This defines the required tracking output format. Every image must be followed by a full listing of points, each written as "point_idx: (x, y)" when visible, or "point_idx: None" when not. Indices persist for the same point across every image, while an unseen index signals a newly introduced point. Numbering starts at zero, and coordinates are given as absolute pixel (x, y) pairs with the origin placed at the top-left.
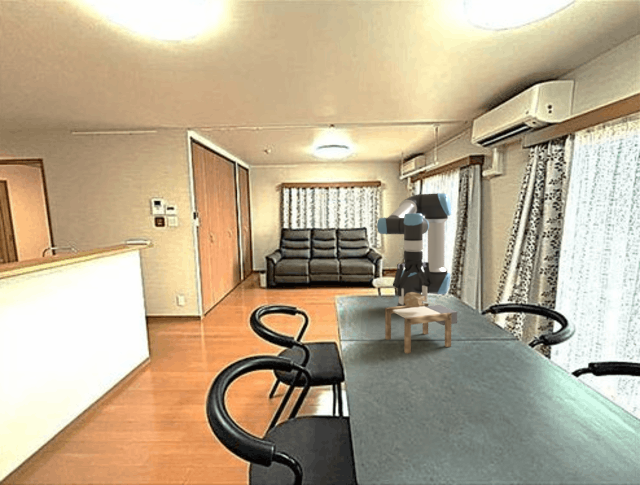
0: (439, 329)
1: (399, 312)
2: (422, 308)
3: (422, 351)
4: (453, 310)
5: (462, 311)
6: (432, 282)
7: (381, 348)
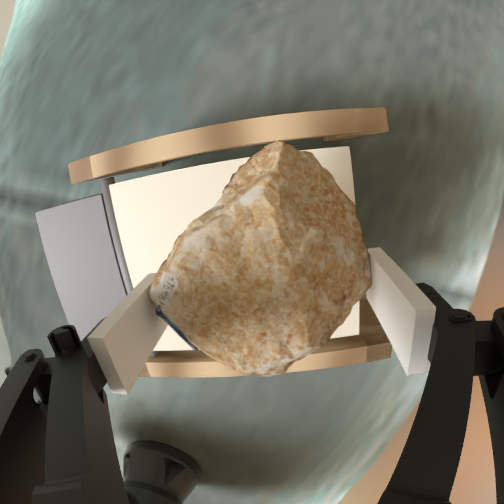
0: None
1: None
2: None
3: None
4: (42, 237)
5: None
6: (22, 359)
7: (405, 198)
